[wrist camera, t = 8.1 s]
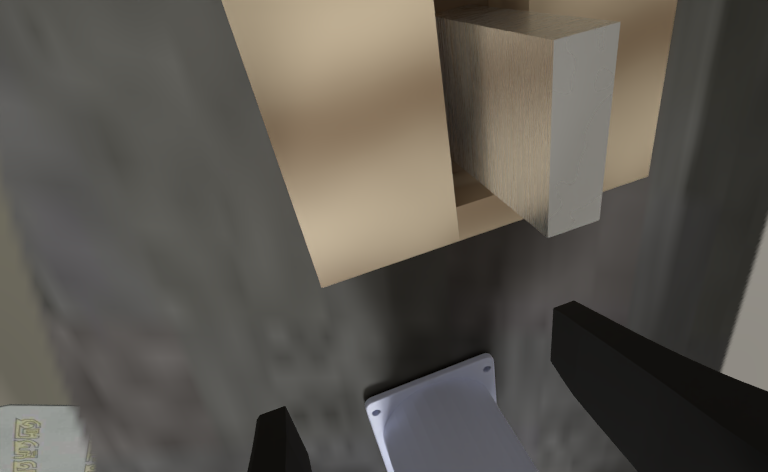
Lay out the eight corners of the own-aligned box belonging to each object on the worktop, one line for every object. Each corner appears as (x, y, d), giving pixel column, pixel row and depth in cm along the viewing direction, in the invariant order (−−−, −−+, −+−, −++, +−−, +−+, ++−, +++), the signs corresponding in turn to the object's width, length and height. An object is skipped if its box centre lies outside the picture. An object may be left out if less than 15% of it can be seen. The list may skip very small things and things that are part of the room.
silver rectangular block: (478, 140, 18) (599, 219, 12) (442, 152, 17) (548, 238, 12) (470, 4, 15) (620, 21, 9) (426, 15, 15) (553, 40, 9)
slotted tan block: (590, 148, 21) (648, 176, 18) (307, 240, 19) (322, 288, 16) (611, -115, 15) (700, -135, 12) (215, -26, 13) (212, -26, 10)
